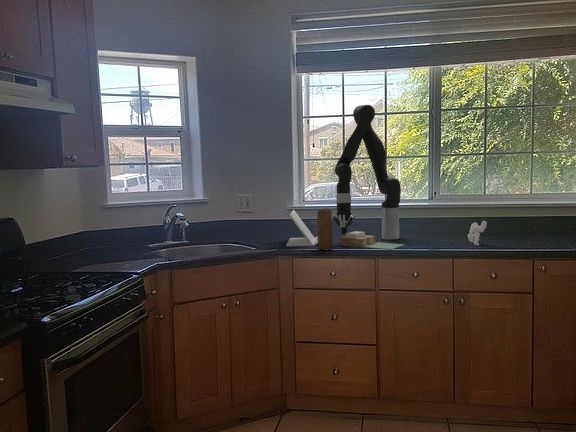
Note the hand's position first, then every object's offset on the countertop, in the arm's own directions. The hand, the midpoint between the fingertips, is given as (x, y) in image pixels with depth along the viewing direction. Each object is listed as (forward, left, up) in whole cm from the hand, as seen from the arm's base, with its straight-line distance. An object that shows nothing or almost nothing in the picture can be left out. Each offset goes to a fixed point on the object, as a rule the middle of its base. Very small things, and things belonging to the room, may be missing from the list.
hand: (344, 234), depth 276 cm
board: (0, +8, -5) cm, 9 cm away
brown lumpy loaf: (+19, +1, -5) cm, 20 cm away
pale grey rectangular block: (0, +7, -1) cm, 7 cm away
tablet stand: (+8, -21, -5) cm, 23 cm away
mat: (-1, +23, -5) cm, 23 cm away
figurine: (-29, +60, -5) cm, 67 cm away
